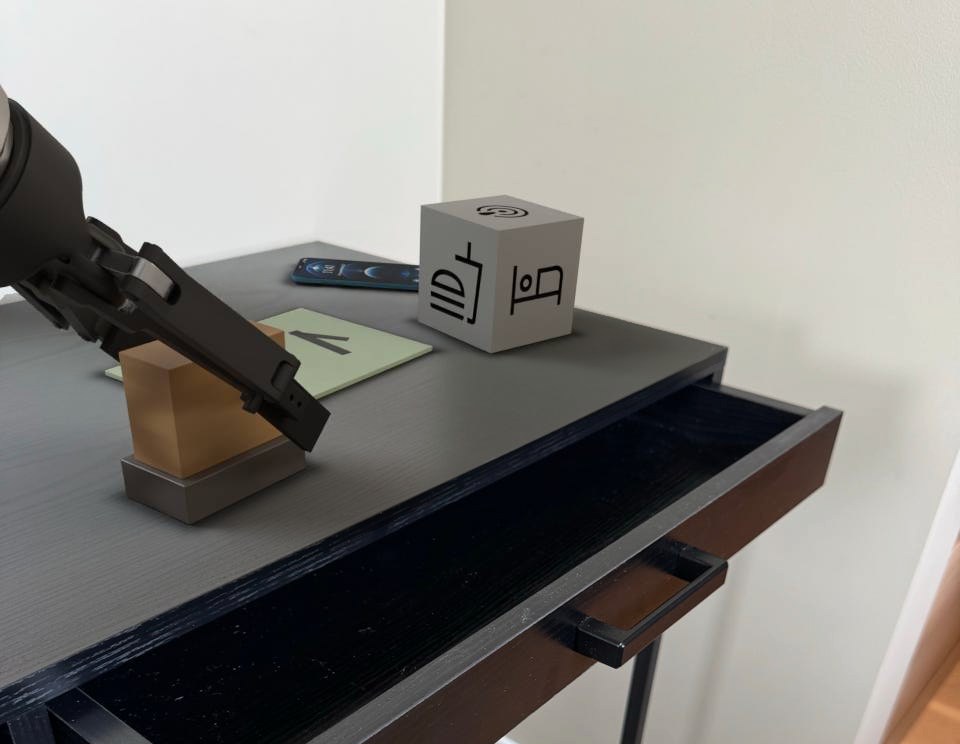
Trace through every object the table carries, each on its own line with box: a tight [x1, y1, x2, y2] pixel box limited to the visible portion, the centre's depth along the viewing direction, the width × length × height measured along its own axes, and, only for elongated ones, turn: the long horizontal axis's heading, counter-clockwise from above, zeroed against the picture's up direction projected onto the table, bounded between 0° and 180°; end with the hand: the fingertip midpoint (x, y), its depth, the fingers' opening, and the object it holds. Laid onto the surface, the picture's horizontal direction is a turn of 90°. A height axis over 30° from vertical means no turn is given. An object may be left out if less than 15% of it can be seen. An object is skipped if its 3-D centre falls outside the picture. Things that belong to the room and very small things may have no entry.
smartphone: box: [291, 257, 419, 291], centre depth 99 cm, size 8×1×15 cm
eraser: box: [119, 318, 307, 526], centre depth 59 cm, size 6×10×9 cm, turn 146°
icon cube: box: [417, 194, 585, 354], centre depth 86 cm, size 10×10×10 cm
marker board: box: [104, 307, 433, 400], centre depth 79 cm, size 15×22×1 cm
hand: (247, 406), depth 61 cm, fingers open, 11 cm apart
